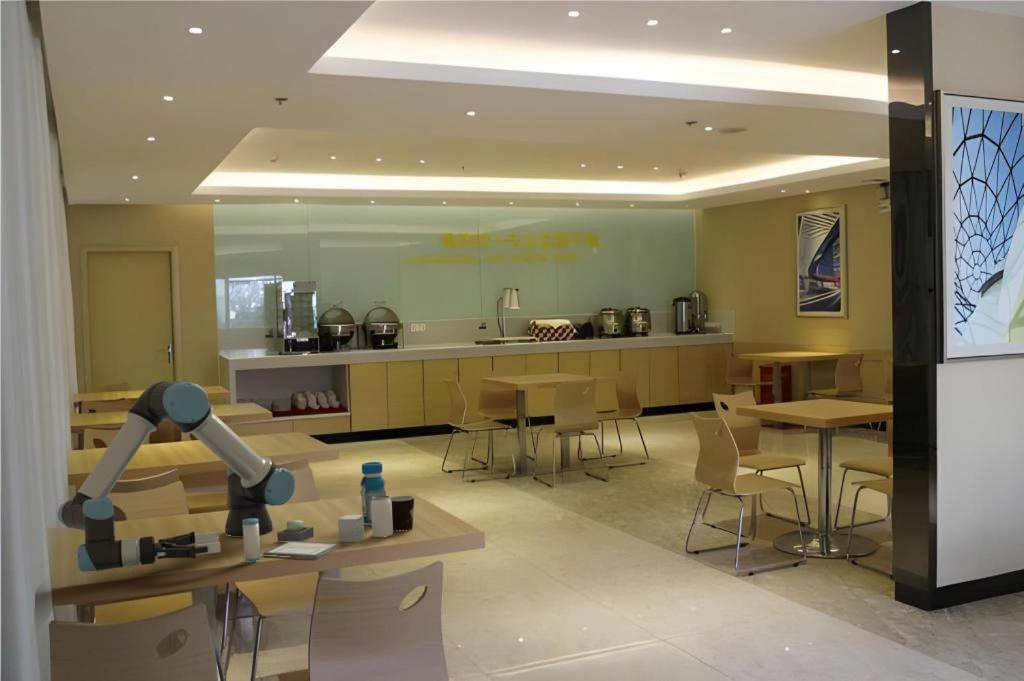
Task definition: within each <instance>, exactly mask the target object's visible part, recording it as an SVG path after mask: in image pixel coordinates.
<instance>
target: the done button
mask: <svg viewBox="0 0 1024 681" xmlns="http://www.w3.org/2000/svg"><path fill="white" fill-rule="evenodd" d="M303 527H304V520H303V519H291V520H288V521H286V528H287V532H300V531H303V530H304V529H303Z"/></svg>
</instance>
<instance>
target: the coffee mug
mask: <svg viewBox="0 0 1024 681" xmlns="http://www.w3.org/2000/svg"><path fill="white" fill-rule="evenodd" d="M389 497H390V496H389ZM390 500H391V504H392V521H393V530H398V531H399V530H401V531H402V530H409V529H411V530H413V529H412V528H414V527H413V526H414V524H413V523H414V510H415V496H413V495H396V496H391V497H390ZM409 531H410V530H409ZM402 532H403V531H402Z"/></svg>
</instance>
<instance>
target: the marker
mask: <svg viewBox="0 0 1024 681" xmlns="http://www.w3.org/2000/svg"><path fill="white" fill-rule="evenodd" d="M242 538H243V550H244V559H246V560H245V561H249V562H253V561H256V560H259V561H260V557H261V544H260V542H261V541H260V535H259V522H258V519H257V518H250V519H245V520H243V537H242Z"/></svg>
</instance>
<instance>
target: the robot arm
mask: <svg viewBox="0 0 1024 681" xmlns="http://www.w3.org/2000/svg"><path fill="white" fill-rule="evenodd" d="M213 407H214V406H213V404H212V403H211V402H210V401H209V396H208V394H207V392H206V391H205V389H204V388H203V387H202V386H201V385H199V384H196V383H194V382H190V381H187V380H186V381H183V380H181V381H165V380H164V381H158V382H156V383H153V384H151V385H149V387H147V388H146V389H145V390H143V392H142V393H141V394H140V395H139V396H138V398H137V399H136V400H135V402H134V403H133V404H132V405H131V407H130V409H128V412H127V413H126V420H125V422H124V423H123V425H122V427H121V428H120V429H119V430H118V433H117V434H116V435H115V437H114V439H112V441H111V442H110V443H109V445H108V447H107V448H106V449H105V451H104V453H103V454H102V455H101V457H100V458H99V460H98V461H97V463H96V464H95V466H94V467H93V468H92V470H91V472H89V474H88V476H87V477H86V479H85V481H83V483H82V484H81V485H80V487H79V489H78V490H77V492H76V493H75V495H74V496H73V498H72V499H70V500H69V499H68V500H66V501H65V502H63V503H62V504H60V506H59V507H58V510H57V519H58V521H59V522H60V523H61V525H64V526H66V527H67V528H69V529H74V530H80V531H83V532H84V543H83V544H79V545H78V547H77V559H76V560H77V566H78V570H79V571H81V572H85V573H87V572H100V571H105V570H112V569H118V568H127V569H131V568H132V567H135V566H139V564H140V565H142V566H145V565H153V564H155V562H156V558H157V559H158V560H163V559H196V558H197V556H200V555H201V556H202V555H206V554H207V555H208V554H215V553H221V552H222V550H221V542H220V537H219V535H220V534H219V531H210V532H203V533H196V534H195V531H190V532H189V533H186V534H181V535H176V536H175V535H174V536H171V537H167V538H160V539H158V541H157V542H155V537H154V536H153V535H152V536H151V535H150V536H143V537H142V536H141V537H140V538H139V539H138V538H137V537H133V538H132V537H131V538H124V539H123V538H122V539H119V540H117V539H116V533H115V509H114V505H113V504H114V503H113V500H112V499H111V498H109V497H108V495H109V494H110V492H111V490H113V488H114V487H115V485H116V484H117V482H118V481H119V479H120V478H121V476H122V475H123V473H124V471H125V470H126V469H127V468H128V467H129V464H130V463H131V461H132V460H133V458H134V457H135V456H136V454H137V452H138V451H139V450H140V448H141V447H142V445H143V444H144V442H145V441H146V440H147V438H148V436H149V435H150V433H153V432H156V431H157V429H158V428H159V426H160V425H162V423H164V422H165V421H167V422H170V423H172V424H173V425H174V426H175V427H176V428H177V429H178V430H179V431H180V432H182V433H183V434H191V435H193V436H194V437H195V438H196V439H197V440H198V441H199V442H200V443H202V444H203V445H204V446H205V447H206V448H207V449H208V450H209V451H211V452H212V453H213V454H214V455H215V456H216V457H217V458H218V459H219V460H220V461H222V462H223V463H224V464H225V465H226V466H227V470H226V479H227V480H226V481H227V492H228V493H227V494H228V495H227V496H228V507H229V508H228V509H229V511H228V515H227V519H226V522H225V526H224V534H225V533H226V534H227V535H231V536H243V520H245V519H250V518H257V519H258V522H259V534H261V535H263V533H264V534H267V533H266V532H268V533H270V532H272V531H273V530H272V529H273V528H274V527H273V521H272V518H271V516H270V513H269V511H268V508H267V505H269V506H272V507H273V506H274V507H275V506H283V505H285V504H286V503H287V502H289V500H291V498H292V497H293V495H294V493H295V489H296V479H295V476H294V474H293V473H292V471H290V470H288V469H287V468H284V467H280V466H278V465H277V464H276V463H275V462H274V461H273V460H272V459H271V458H270V457H268V456H263V457H261V456H260V455H259V454H258V453H257V452H255V450H254V449H253V448H252V447H250V446H249V445H248V444H247V443H246V442H245V441H244V440H243V439H242V438H241V437H240V436H239V435H238V434H236V433H235V431H233V429H231V428H230V427H229V426H228V425H227V424H226V423H224V421H223V420H222V419H221V418H220V417H218V416H217V415H216V414H215V413H214V412H213V409H214V408H213ZM271 530H272V531H271ZM269 531H270V532H269ZM193 544H195V546H194V545H193Z"/></svg>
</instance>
